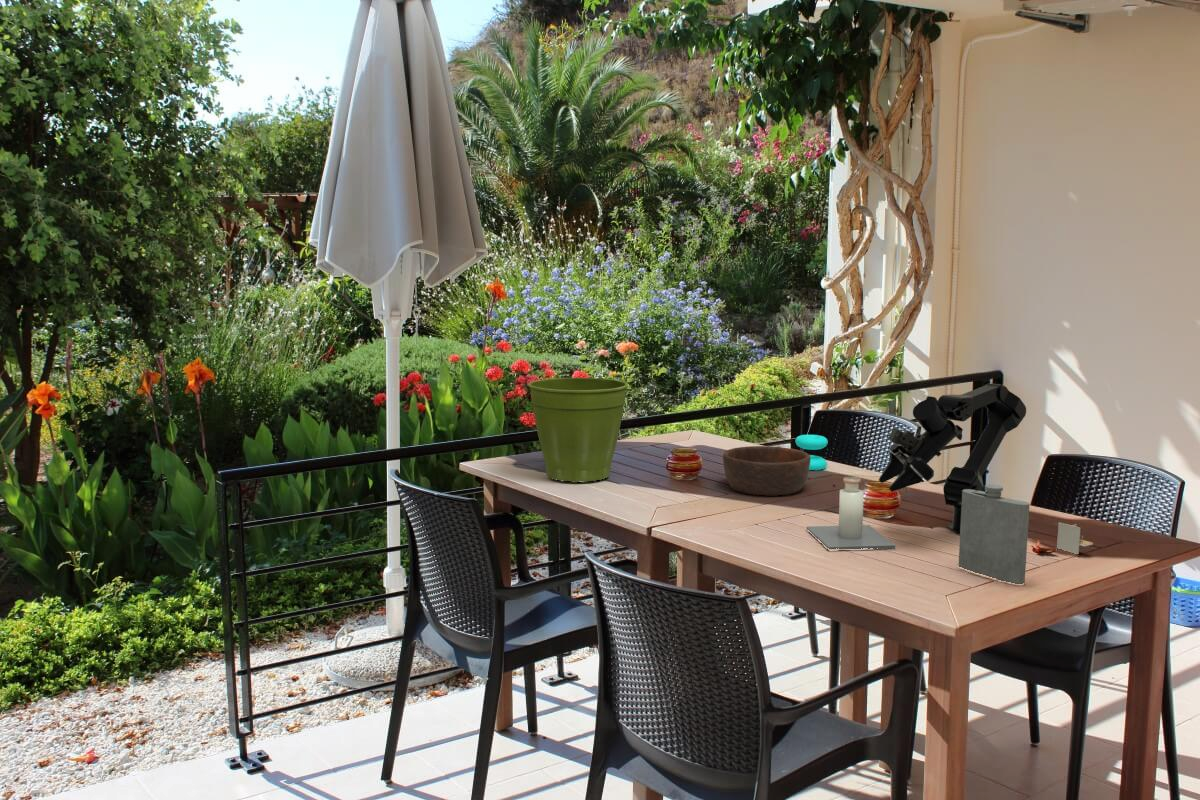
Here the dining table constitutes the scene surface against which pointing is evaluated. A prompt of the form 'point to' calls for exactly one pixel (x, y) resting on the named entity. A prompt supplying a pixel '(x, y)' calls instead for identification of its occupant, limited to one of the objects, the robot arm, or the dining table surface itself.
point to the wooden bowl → (766, 470)
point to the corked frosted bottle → (851, 509)
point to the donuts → (813, 444)
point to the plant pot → (578, 425)
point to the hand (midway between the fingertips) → (885, 485)
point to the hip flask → (993, 534)
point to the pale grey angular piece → (1070, 538)
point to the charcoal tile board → (833, 541)
